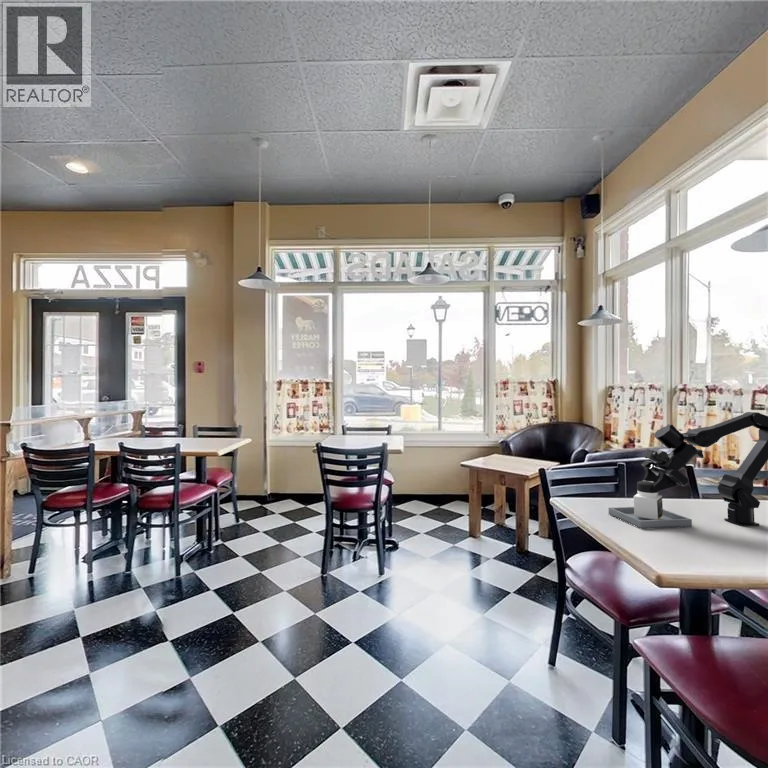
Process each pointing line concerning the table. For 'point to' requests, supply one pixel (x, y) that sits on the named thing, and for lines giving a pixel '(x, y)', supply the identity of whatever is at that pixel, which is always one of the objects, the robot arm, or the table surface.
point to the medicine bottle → (647, 501)
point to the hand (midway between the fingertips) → (646, 489)
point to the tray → (664, 522)
